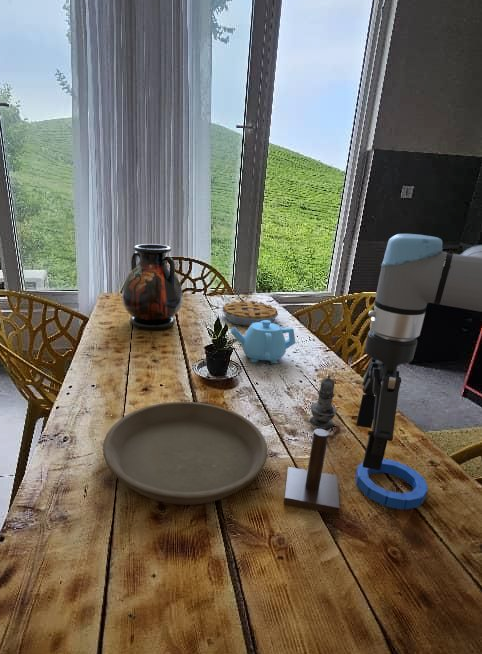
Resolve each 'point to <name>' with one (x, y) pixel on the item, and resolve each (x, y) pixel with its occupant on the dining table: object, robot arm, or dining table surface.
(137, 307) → the amphora vase
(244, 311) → the pie
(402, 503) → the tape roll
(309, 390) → the dining table surface
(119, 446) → the plant saucer
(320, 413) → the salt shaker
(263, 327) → the teapot
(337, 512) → the peg stand
